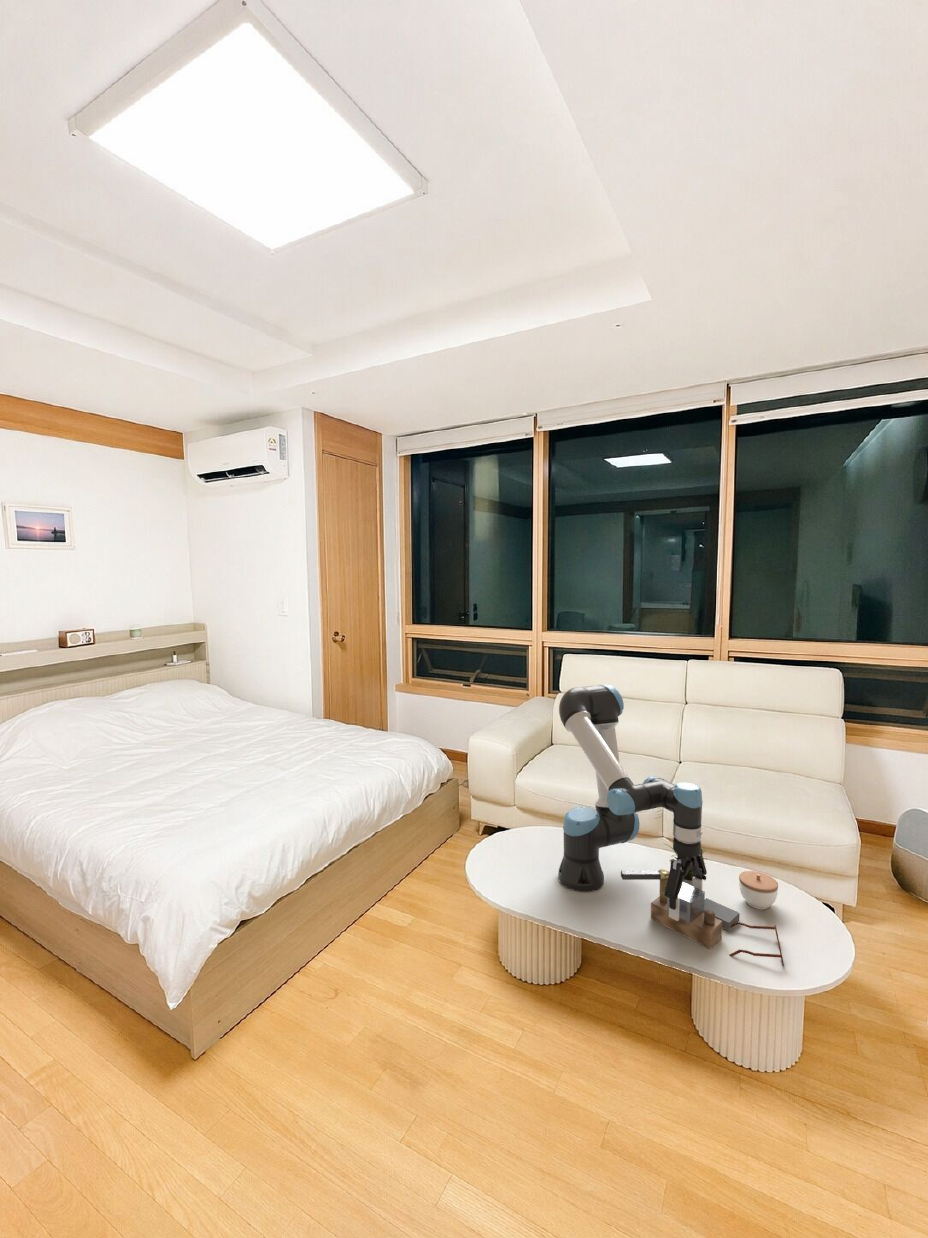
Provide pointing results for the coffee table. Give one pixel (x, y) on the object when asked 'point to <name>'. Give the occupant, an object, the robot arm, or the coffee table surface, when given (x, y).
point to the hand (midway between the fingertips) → (685, 909)
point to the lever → (645, 875)
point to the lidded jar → (758, 889)
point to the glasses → (759, 953)
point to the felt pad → (722, 913)
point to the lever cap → (690, 902)
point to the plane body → (699, 930)
